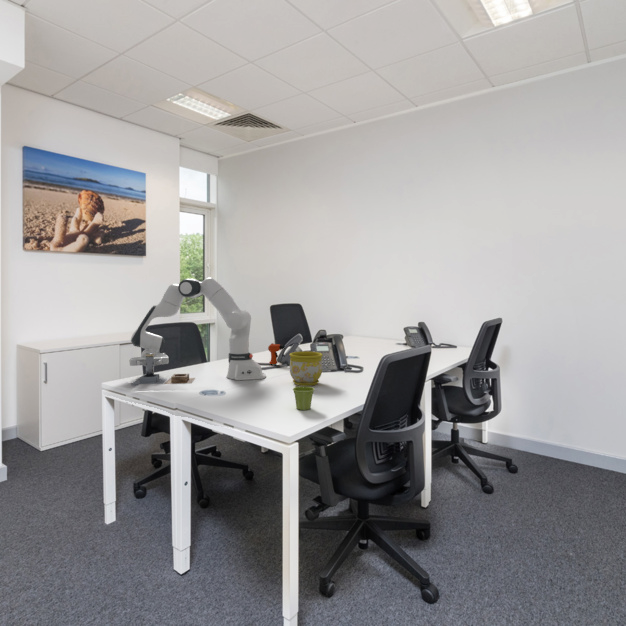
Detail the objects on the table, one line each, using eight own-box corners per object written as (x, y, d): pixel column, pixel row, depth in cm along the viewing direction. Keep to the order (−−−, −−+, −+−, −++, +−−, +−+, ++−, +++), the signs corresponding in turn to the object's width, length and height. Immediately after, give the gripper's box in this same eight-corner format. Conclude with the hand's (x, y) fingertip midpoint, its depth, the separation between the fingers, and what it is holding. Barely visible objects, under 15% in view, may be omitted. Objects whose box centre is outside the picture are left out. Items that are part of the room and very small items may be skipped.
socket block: (195, 379, 243) (195, 372, 243) (191, 385, 229) (191, 377, 229) (169, 379, 242) (169, 372, 241) (164, 385, 228) (164, 378, 227)
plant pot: (290, 406, 191) (290, 386, 190) (311, 405, 193) (311, 385, 192) (294, 412, 182) (295, 391, 181) (316, 410, 184) (316, 390, 183)
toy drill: (290, 365, 281) (287, 342, 281) (267, 366, 291) (265, 344, 291) (294, 364, 285) (292, 341, 285) (272, 365, 295) (270, 343, 295)
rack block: (167, 380, 240) (167, 373, 240) (162, 385, 229) (162, 377, 228) (137, 380, 238) (137, 373, 238) (131, 385, 227) (131, 378, 226)
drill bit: (154, 380, 236) (154, 353, 235) (153, 381, 232) (152, 354, 231) (147, 380, 235) (146, 353, 235) (145, 381, 231) (144, 354, 231)
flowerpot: (322, 380, 244) (322, 351, 243) (322, 387, 226) (322, 356, 225) (290, 379, 245) (290, 351, 244) (288, 387, 227) (288, 356, 226)
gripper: (129, 354, 241) (128, 358, 228) (167, 352, 248) (169, 356, 236) (129, 365, 241) (128, 370, 228) (167, 363, 249) (169, 367, 236)
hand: (149, 363), depth 232 cm, fingers open, 8 cm apart
